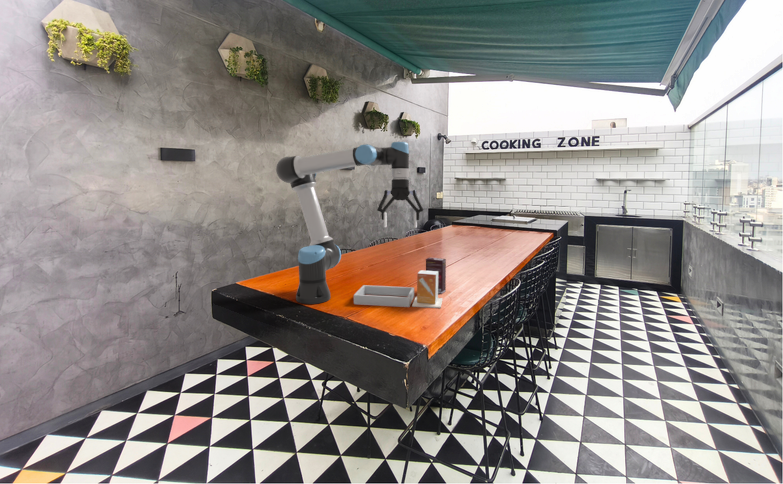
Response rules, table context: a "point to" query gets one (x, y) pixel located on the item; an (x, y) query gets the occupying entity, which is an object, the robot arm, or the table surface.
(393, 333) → the table surface
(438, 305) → the tile
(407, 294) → the bin
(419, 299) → the small box
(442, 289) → the supplement box
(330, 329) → the table surface
